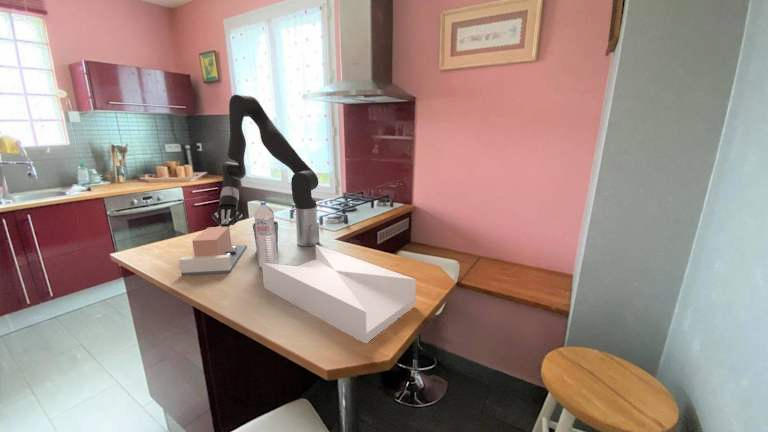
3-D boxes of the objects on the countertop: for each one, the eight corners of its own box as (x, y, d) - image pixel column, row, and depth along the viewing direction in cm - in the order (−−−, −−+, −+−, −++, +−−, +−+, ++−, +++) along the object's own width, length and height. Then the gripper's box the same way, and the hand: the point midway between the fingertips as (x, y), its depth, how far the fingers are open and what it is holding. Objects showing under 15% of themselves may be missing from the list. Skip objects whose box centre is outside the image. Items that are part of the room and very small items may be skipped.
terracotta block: (210, 246, 129) (208, 227, 127) (231, 245, 130) (229, 226, 128) (195, 261, 114) (192, 240, 111) (219, 260, 115) (216, 239, 113)
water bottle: (281, 263, 123) (277, 201, 116) (268, 270, 117) (262, 205, 110) (268, 260, 125) (263, 199, 119) (254, 267, 119) (248, 202, 113)
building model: (414, 308, 94) (416, 279, 92) (366, 345, 78) (366, 311, 75) (316, 267, 121) (315, 244, 119) (264, 288, 104) (261, 262, 102)
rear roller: (237, 244, 130) (235, 247, 128) (238, 251, 131) (236, 254, 129) (203, 246, 128) (201, 249, 125) (204, 252, 129) (202, 256, 126)
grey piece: (207, 249, 136) (205, 235, 135) (246, 247, 139) (245, 234, 137) (181, 275, 112) (179, 259, 110) (230, 272, 114) (228, 257, 113)
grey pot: (253, 255, 130) (250, 227, 127) (257, 246, 140) (254, 220, 137) (278, 253, 133) (276, 226, 129) (281, 245, 142) (279, 219, 139)
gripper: (210, 194, 138) (204, 229, 130) (242, 194, 140) (238, 228, 132) (216, 203, 144) (210, 237, 136) (246, 203, 147) (243, 236, 138)
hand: (224, 233), depth 134 cm, fingers closed
